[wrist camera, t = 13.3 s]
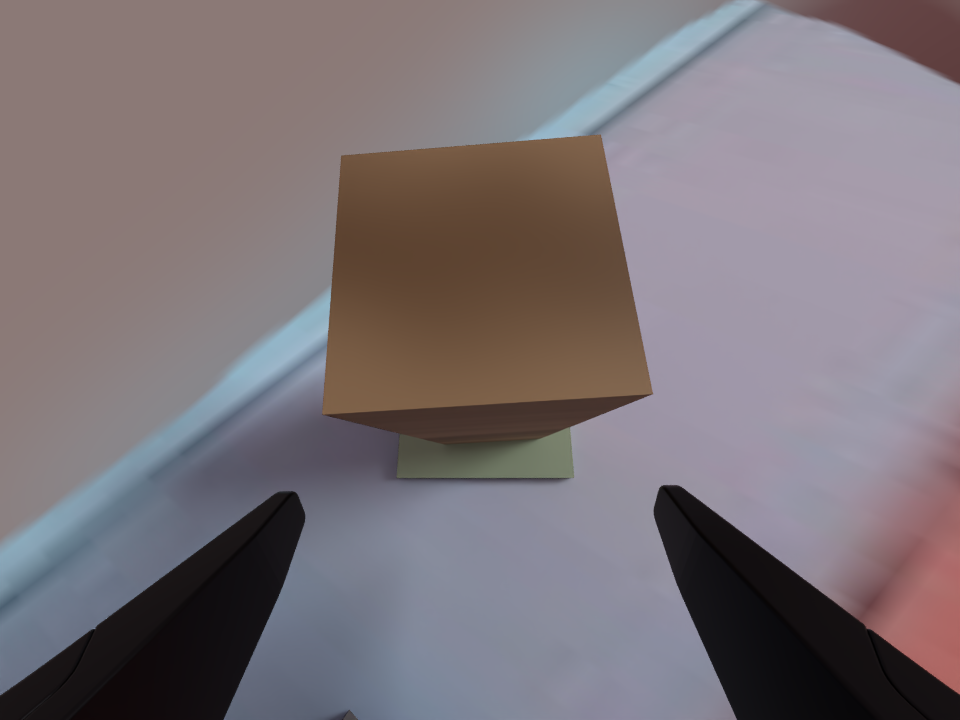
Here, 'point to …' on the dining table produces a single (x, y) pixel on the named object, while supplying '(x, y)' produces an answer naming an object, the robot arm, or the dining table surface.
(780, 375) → the dining table surface
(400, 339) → the walnut pillar
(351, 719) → the charcoal brick
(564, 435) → the sage-green tile
